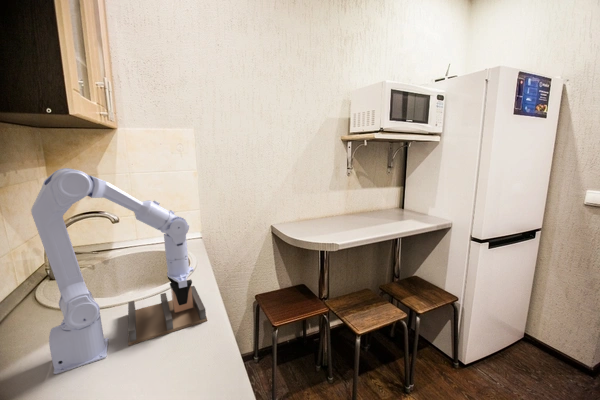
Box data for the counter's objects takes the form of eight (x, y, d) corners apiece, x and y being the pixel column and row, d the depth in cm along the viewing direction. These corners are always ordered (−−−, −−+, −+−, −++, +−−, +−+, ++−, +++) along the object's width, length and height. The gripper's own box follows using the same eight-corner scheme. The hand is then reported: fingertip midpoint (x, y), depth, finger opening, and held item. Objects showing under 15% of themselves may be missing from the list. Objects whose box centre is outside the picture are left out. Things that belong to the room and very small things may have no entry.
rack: (128, 345, 69) (126, 331, 68) (129, 314, 83) (127, 302, 82) (207, 320, 79) (206, 308, 78) (195, 296, 92) (195, 285, 92)
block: (174, 312, 80) (172, 289, 78) (172, 306, 83) (170, 284, 82) (193, 307, 82) (191, 285, 81) (190, 301, 86) (188, 280, 84)
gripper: (196, 261, 76) (201, 307, 78) (187, 246, 88) (191, 286, 90) (168, 267, 72) (173, 315, 74) (162, 251, 84) (167, 292, 87)
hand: (181, 300), depth 82 cm, fingers closed on block, 4 cm apart
